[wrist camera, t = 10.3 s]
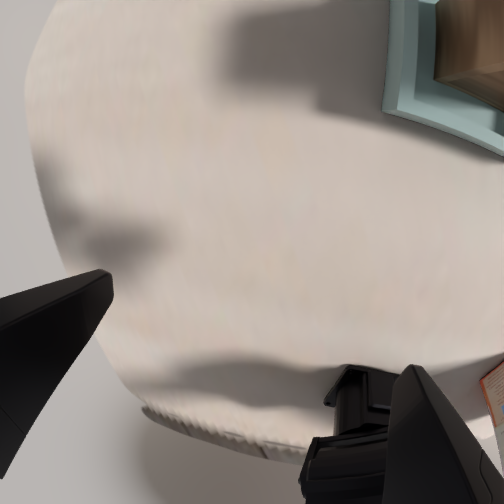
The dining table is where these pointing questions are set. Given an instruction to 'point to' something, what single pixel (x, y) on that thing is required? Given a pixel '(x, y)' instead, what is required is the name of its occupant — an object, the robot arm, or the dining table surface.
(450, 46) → the brown tall open box
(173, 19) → the dining table surface
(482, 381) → the cracker box
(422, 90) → the teal square tray
